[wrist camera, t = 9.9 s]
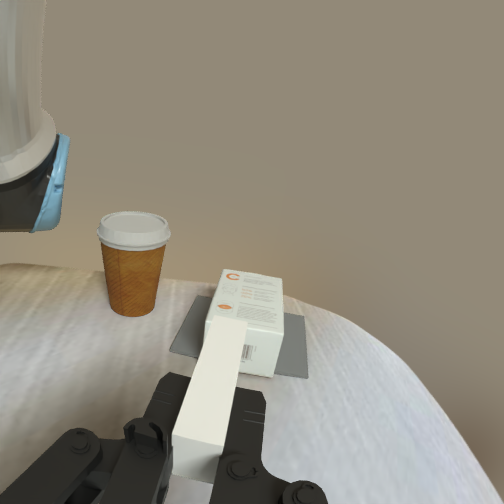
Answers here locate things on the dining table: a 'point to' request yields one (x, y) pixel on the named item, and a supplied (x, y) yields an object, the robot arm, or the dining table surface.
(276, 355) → the small box
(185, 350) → the rubber mat
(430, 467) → the dining table surface
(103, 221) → the disposable coffee cup
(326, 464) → the dining table surface
